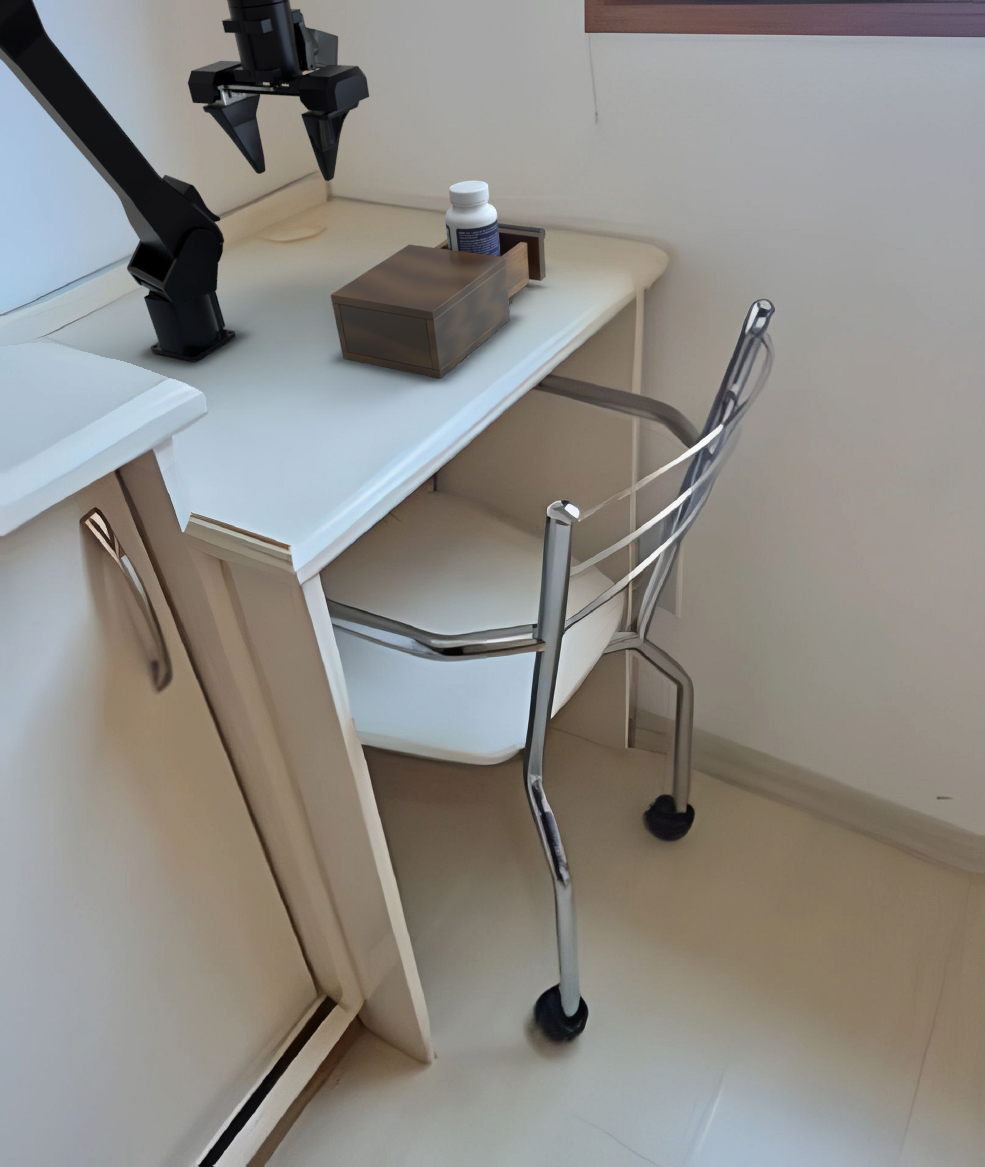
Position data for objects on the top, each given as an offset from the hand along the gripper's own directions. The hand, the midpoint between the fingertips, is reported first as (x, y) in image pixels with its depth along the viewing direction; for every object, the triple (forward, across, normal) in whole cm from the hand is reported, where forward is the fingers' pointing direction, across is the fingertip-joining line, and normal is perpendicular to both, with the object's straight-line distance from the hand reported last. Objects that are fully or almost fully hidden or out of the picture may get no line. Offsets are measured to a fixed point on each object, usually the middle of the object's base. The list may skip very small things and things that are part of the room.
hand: (294, 176), depth 97 cm
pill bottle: (+11, -18, -6) cm, 22 cm away
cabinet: (+13, -18, +5) cm, 23 cm away
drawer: (+12, -18, -7) cm, 23 cm away
